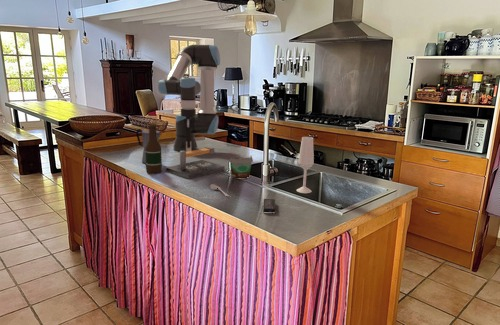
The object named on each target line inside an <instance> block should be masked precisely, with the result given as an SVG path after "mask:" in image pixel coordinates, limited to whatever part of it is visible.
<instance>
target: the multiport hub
mask: <svg viewBox="0 0 500 325" xmlns="http://www.w3.org/2000/svg"><path fill="white" fill-rule="evenodd" d="M263 204H264V205H263V207H262V208H263V209H262V210H263V211H262V213H263V212H275V213H276V200H275V199H274V198H263Z"/></svg>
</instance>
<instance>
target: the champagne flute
mask: <svg viewBox="0 0 500 325" xmlns="http://www.w3.org/2000/svg"><path fill="white" fill-rule="evenodd" d="M300 143H301V144H300V149H299V156H298V161H297V162H298V166H300V168H301V169H302V170H303V181H302V183H303V184H302V186H301V187H299V188H297V189H296V192H298V193H300V194H310V193H312V190H311V189H310V188H309V187H307V185H306V184H307V174H308V173H307V172H308V171H307V170H309V169H311V168H312V167H313V166H314V164H315V163H314V162H315V161H314V160H315V159H314V156H315V154H314V137H312V136H302V137H301V142H300Z"/></svg>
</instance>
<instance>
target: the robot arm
mask: <svg viewBox="0 0 500 325" xmlns="http://www.w3.org/2000/svg"><path fill="white" fill-rule="evenodd" d="M220 56H221V55H220V50H219V48H218V46H216V45H214V44H190V45H187V46H185V47H183V48H182V49H181V50H179V51H178V53H177V55H176V57H175V62H174V63H173V65H172V67H171V69H170V71H169V73H168V75H167V77H166V78H165V79H160V80H159V81H158V84H157V88H158V92H159V94H161V95H174V96H175V95H179V96H180V101H179V104H180V108H181V109H180V113H178V114H176V115H175V122H174V123H175V140H174V143H173V147H172V148H173V150H174V151H175V152H180V151H186V152H188V151H194V150H198V143H197V140H196V138H195V134H199V135H214V134H216V133H217V130H218V128H219V127H218V126H219V123H220V121H219V120H220V119H219V116H218V115H217V112H216V111H215V109H214V108H215V107H214V106H215V105H214V104H215V71H216V70H218V66H220V65H221V57H220ZM192 65H197V68H198V69H199V71H200V79H199V80H200V81H198V80H196V79H195V78H194V77H184V75H185V73H186V71H187V69H188V68H189V67H190V66H192ZM197 95H199V98H200V99H199V110H198V111H197V114H196V110H197V109H196V107H197V101H196V100H197V99H196V96H197Z"/></svg>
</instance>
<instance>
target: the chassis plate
mask: <svg viewBox="0 0 500 325" xmlns="http://www.w3.org/2000/svg"><path fill="white" fill-rule="evenodd" d="M225 167H226V166H225V165H221V164H218V163H214V162H211V161H208V160H205V159H199V160H195V161H191V162H186V169H185V170H181V169H180V164H176V165H172V166H167V167H165V172H167V173H170V174H172V175H176V176H178V177H181V178H184V179H187V180H190V179H194V178H199V177H202V176H206V175H210V174H214V173H218V172H221V171H220V170H222V171H225V170H226V169H225ZM224 169H225V170H224ZM217 171H218V172H217Z"/></svg>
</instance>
